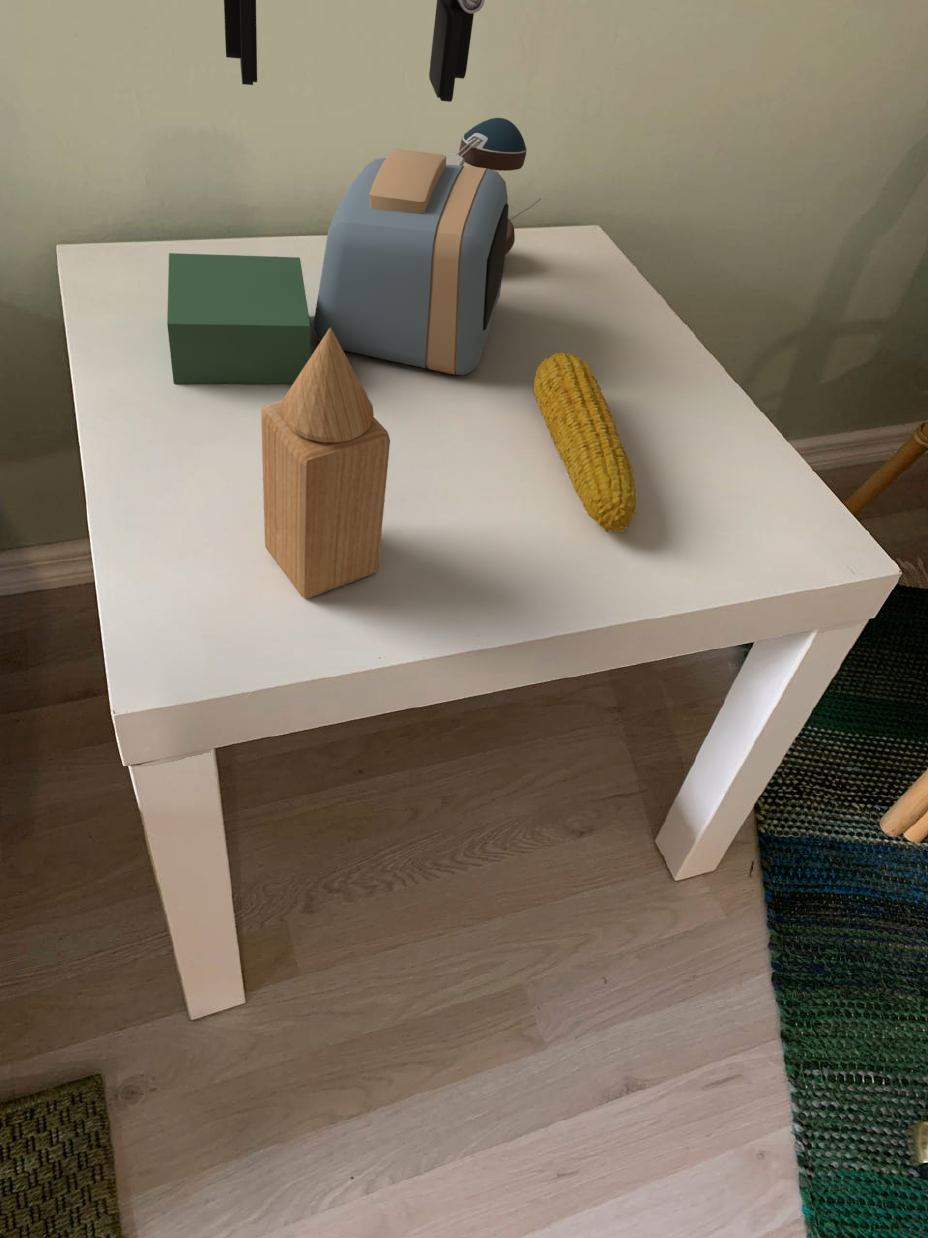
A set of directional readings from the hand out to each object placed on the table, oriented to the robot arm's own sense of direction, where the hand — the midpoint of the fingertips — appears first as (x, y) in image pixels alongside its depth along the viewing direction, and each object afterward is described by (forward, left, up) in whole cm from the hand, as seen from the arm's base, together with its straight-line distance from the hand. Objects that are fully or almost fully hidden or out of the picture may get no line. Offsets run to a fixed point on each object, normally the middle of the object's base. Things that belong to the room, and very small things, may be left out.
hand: (346, 82), depth 48 cm
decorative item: (0, 0, -34) cm, 34 cm away
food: (+24, +11, -34) cm, 43 cm away
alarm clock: (+11, +33, -34) cm, 49 cm away
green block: (-5, +29, -34) cm, 45 cm away
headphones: (+21, +46, -34) cm, 61 cm away
